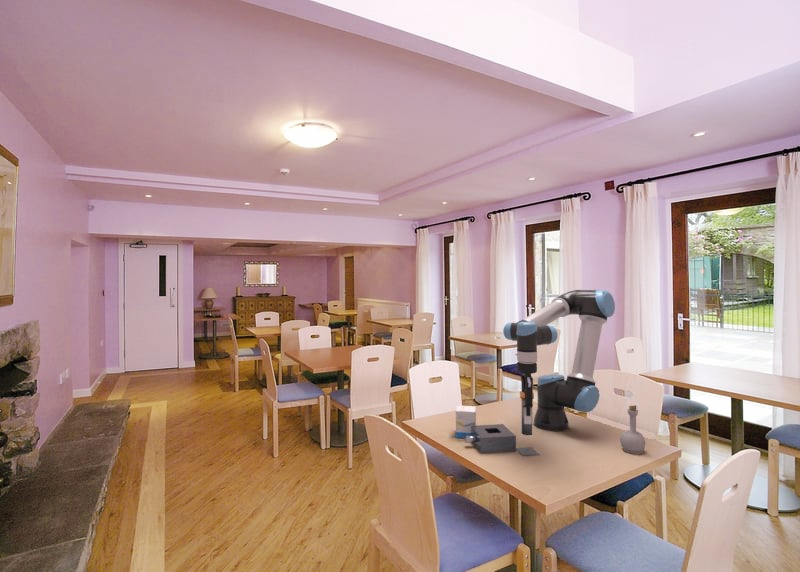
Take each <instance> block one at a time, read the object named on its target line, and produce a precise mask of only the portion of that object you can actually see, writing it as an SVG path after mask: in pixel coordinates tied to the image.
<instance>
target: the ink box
mask: <svg viewBox="0 0 800 572" xmlns="http://www.w3.org/2000/svg"><path fill="white" fill-rule="evenodd" d="M476 408H477V407H476V406H474V405H473V406H472V405H456V410H455V438H456V439H458V438H459V439H466V436H471V426H476V425H477V409H476Z"/></svg>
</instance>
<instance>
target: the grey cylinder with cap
mask: <svg viewBox="0 0 800 572" xmlns="http://www.w3.org/2000/svg"><path fill="white" fill-rule="evenodd" d="M534 393H535V392H533V400H534V397H535V394H534ZM519 398H520V399H521V434H522V435H523V436H532V435H533V423H532V424H524V407H523V406H525V394H524V391H522V390H520V392H519Z"/></svg>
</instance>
